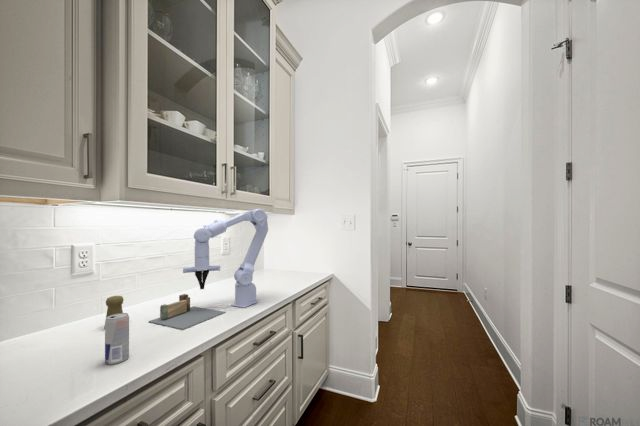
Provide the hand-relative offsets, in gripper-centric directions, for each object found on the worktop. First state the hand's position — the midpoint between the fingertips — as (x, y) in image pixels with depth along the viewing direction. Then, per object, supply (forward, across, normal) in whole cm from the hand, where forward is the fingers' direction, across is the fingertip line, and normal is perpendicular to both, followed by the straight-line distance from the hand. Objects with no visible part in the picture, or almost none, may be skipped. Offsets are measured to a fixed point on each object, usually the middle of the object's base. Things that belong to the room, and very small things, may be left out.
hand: (202, 288), depth 118 cm
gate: (+8, +9, +4) cm, 13 cm away
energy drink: (+10, +19, +37) cm, 43 cm away
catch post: (+9, +14, +5) cm, 17 cm away
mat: (+9, +5, +7) cm, 12 cm away
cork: (+10, +29, +8) cm, 31 cm away
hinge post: (+9, +7, -2) cm, 12 cm away
